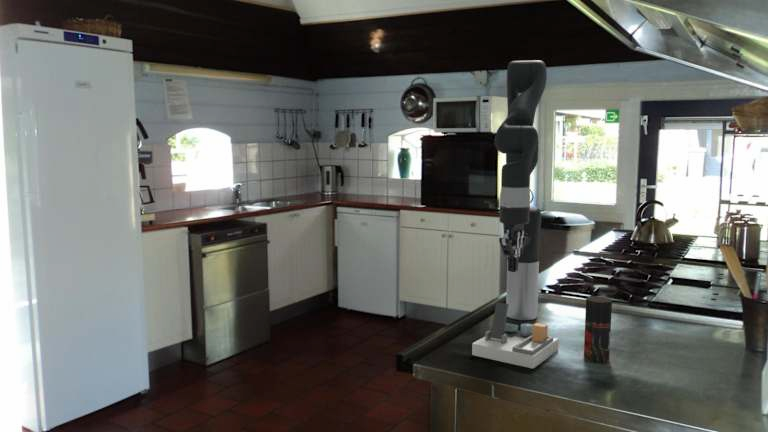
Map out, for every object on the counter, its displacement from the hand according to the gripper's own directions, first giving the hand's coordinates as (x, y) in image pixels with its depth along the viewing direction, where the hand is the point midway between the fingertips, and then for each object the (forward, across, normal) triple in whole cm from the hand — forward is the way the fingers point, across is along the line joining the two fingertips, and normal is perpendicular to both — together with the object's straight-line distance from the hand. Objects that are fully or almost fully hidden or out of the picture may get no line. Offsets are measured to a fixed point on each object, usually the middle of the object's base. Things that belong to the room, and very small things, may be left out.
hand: (512, 271), depth 165 cm
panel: (+19, +6, +4) cm, 21 cm away
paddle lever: (+16, +9, 0) cm, 19 cm away
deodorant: (+20, -1, +22) cm, 29 cm away
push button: (+16, 0, +4) cm, 17 cm away
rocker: (+16, +1, 0) cm, 16 cm away
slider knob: (+16, +3, +9) cm, 19 cm away
